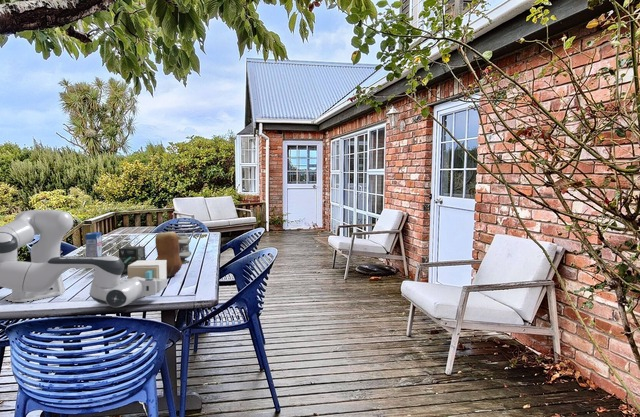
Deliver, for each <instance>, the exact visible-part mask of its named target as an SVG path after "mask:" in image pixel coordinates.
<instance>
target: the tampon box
mask: <svg viewBox="0 0 640 417" xmlns="http://www.w3.org/2000/svg"><path fill="white" fill-rule="evenodd" d="M118 257H119V258H120V259H121V260H122V262H123V263H124V266H125V267H124V269H123V272H122V274H121V275H128V270H127V268H128V265H130V264H132V263H134V262H136V261H139V260H146V246H144V245H143V246H142V245H141V246H139V245H137V246H133V245H132V246H124V247H121V248H120V247H119V248H118Z"/></svg>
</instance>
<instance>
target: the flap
mask: <svg viewBox="0 0 640 417" xmlns="http://www.w3.org/2000/svg"><path fill="white" fill-rule="evenodd" d="M127 270H128V274H127V279H130V278H133V277H141V278H145V279H151V278H155V279H158V271H157V267H128V268H127Z"/></svg>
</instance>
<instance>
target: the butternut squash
mask: <svg viewBox="0 0 640 417" xmlns="http://www.w3.org/2000/svg"><path fill="white" fill-rule="evenodd" d="M177 235H178V233H176V232H175V231H172V230H171V231H166V232H163V231H162V232H158V233H157V234H156V236H155V240H154V241H155V250H156V253H157V254H156V255H157V256H156V260H167V278H169V277H175V276H176V275H177V274H178V272H179V271H180V270H181V269H182V265H183V264H182V261H181V259H180V256H179V240H178V236H177Z"/></svg>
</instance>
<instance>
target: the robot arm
mask: <svg viewBox="0 0 640 417" xmlns="http://www.w3.org/2000/svg"><path fill="white" fill-rule="evenodd" d="M73 225H74V218H73V216H72V215H71V213H69V212H67V211H64V210H63V211H62V210H58V209H38V210H37V209H31V210H25V211H20V212H18V213H17V214H16V215H15V217H14V220H13V221H11V222H9V223H6V224H3V225H1V226H0V288H4V289H7V290H11V295H8V296H5V301H6V300H8V301H7V302H9V301H12V302H11V303H15V302H24V303H28V302H27V301H29V302H33V300H34V301H38V299H39V300H43V298H44V299H48V298H52V297H57V296H61V295H63V293H65V292H66V287H65V285H64V281H63V280H64V279H63V276H62V274H63V273H64V272H65V271H67V270H70V269H94V274H93V278H92V281H91V285H90V290H89V296H90V297H91V298H92V299H93V300H94V301H95V302H97V303H99V304H101V305H108V306H109V307H112V308H121V307H124V306H127V305H129V304H130V303H133V302H134V301H135V300H138V299H140V298H144V297H148V296H155V295H157V293H160V292H162V291H163V290H164V289H165V288H166V287H167V286H168V280H167V281H166V279H155V278H151V279H145V278H141V277H133V278H130V279H128V278H121V277H122V275H123V274H122V272H123V269H124V267H125V266H124V263H123V262H122V260H121V259H120V258H119V256H116V255H115V256H113V255H102V256H100V257H86V256H61V244H62V241H63V238H64V236H66V234H67V233H68V232H70V231H71V229H72V228H73ZM36 235H40V236H39V239H38V241H37V242H36V243H34V244H33V245H32V246H31V247H30V258H31V259H30V260H31V261H21V260H20V261H19V260H18V259H19V258H18V249H20V248H22V247H24V246H25V245H28V244H30V243H31V242H33V240H34V238H35V236H36ZM166 285H167V286H166ZM162 289H163V290H162ZM161 290H162V291H161ZM159 291H160V292H159Z"/></svg>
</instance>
